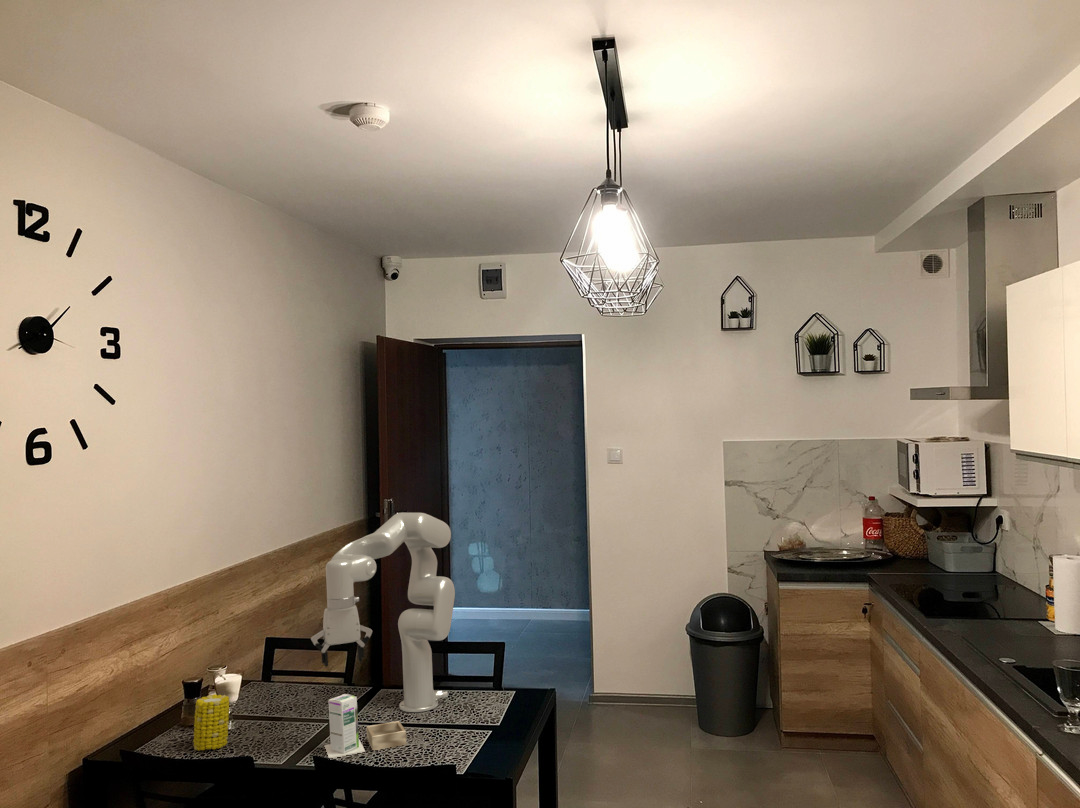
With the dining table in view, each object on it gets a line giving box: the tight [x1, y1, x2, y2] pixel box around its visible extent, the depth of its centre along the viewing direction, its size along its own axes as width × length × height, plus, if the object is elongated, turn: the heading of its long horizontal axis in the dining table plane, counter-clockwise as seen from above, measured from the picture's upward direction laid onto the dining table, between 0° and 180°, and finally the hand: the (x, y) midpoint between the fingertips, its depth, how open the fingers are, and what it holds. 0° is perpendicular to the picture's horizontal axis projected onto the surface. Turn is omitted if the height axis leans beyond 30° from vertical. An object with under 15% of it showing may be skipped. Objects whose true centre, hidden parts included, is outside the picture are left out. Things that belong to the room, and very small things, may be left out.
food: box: [192, 693, 230, 751], centre depth 245 cm, size 15×12×10 cm
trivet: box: [323, 739, 366, 760], centre depth 237 cm, size 10×10×1 cm
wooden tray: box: [366, 720, 407, 751], centre depth 241 cm, size 10×10×4 cm
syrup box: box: [328, 693, 360, 754], centre depth 237 cm, size 6×6×14 cm
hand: (343, 662), depth 239 cm, fingers open, 9 cm apart
